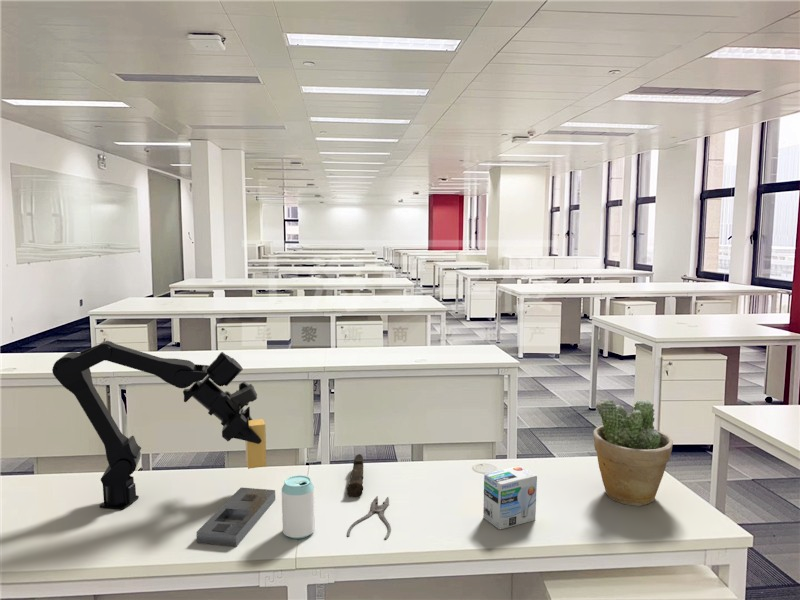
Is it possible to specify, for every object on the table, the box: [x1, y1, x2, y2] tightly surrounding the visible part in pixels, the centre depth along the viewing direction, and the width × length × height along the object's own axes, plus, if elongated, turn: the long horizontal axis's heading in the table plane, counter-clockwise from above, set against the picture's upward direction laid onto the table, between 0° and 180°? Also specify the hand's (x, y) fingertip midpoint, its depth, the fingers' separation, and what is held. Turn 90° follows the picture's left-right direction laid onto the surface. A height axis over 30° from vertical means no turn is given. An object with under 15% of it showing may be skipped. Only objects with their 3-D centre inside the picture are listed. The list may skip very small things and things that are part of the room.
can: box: [281, 474, 316, 540], centre depth 131 cm, size 7×7×12 cm
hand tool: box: [346, 453, 364, 498], centre depth 157 cm, size 19×4×5 cm, turn 178°
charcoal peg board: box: [196, 487, 276, 548], centre depth 137 cm, size 9×22×3 cm, turn 170°
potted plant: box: [592, 398, 674, 507], centre depth 147 cm, size 18×19×25 cm
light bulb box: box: [482, 465, 538, 530], centre depth 137 cm, size 11×7×11 cm, turn 117°
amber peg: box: [245, 418, 267, 470], centre depth 151 cm, size 4×4×11 cm
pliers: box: [346, 495, 392, 541], centre depth 138 cm, size 10×1×20 cm
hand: (260, 438), depth 152 cm, fingers closed on amber peg, 5 cm apart
